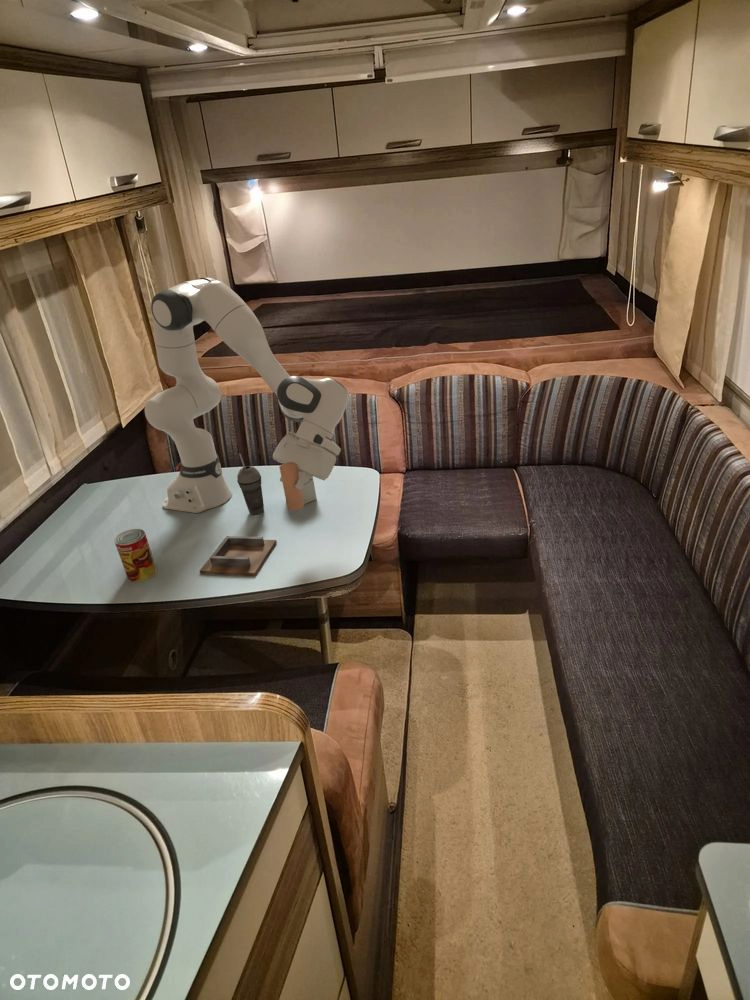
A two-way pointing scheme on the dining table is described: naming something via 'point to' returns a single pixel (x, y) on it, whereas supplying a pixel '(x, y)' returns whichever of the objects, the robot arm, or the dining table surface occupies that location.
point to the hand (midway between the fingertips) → (289, 485)
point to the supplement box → (308, 489)
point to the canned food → (136, 555)
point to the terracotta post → (291, 486)
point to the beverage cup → (251, 488)
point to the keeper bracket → (239, 556)
